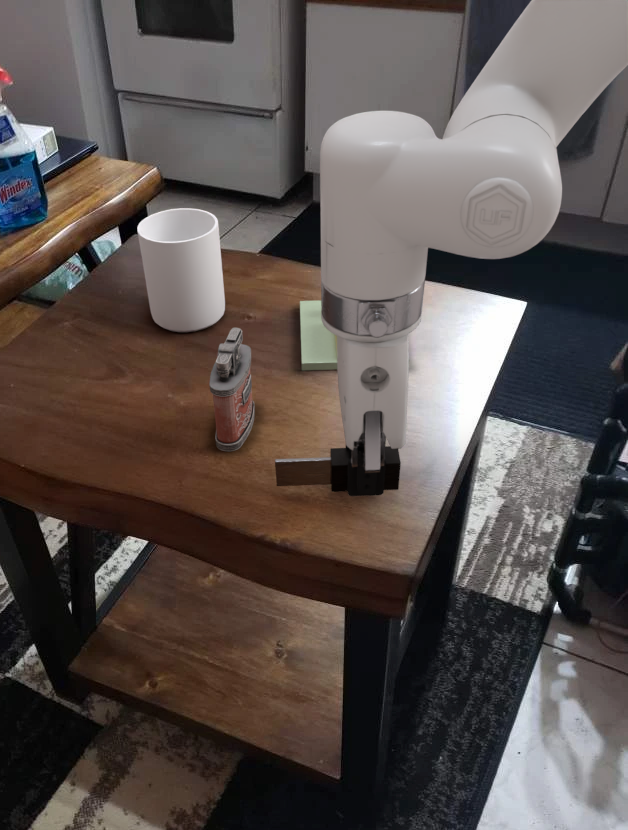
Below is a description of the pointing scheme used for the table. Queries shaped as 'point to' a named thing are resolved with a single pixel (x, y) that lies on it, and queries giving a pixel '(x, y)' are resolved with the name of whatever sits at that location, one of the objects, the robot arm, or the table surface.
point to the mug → (182, 268)
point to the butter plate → (316, 339)
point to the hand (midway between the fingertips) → (364, 480)
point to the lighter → (232, 392)
